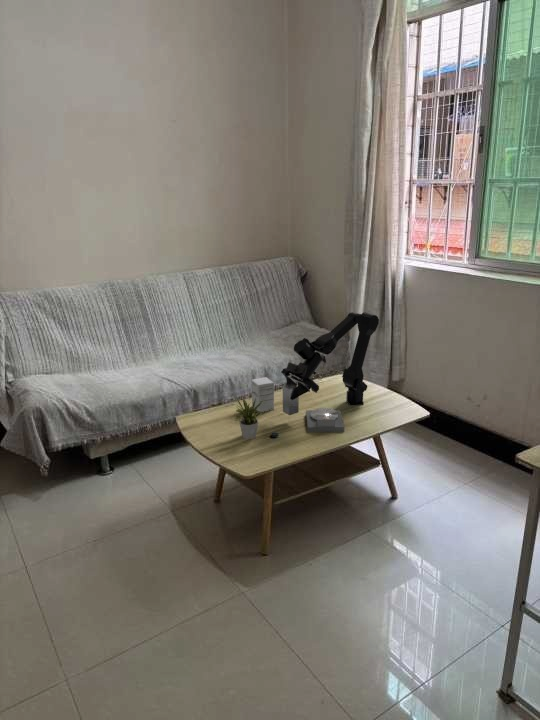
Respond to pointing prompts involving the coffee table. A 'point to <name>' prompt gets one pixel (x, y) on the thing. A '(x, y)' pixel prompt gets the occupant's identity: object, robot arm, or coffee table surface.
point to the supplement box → (263, 394)
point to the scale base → (324, 429)
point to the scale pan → (323, 413)
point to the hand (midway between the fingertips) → (287, 397)
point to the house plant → (248, 419)
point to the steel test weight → (288, 404)
